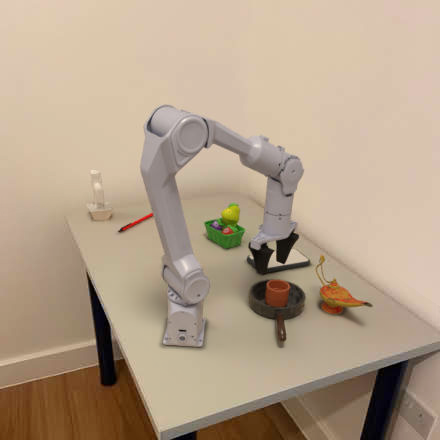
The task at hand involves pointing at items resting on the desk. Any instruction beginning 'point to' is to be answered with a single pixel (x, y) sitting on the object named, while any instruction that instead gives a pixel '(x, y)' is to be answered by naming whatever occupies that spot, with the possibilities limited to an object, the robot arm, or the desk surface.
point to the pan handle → (280, 326)
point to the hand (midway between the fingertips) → (271, 268)
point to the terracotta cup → (277, 293)
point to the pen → (135, 222)
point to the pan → (261, 307)
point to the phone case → (292, 261)
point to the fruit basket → (226, 228)
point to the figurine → (98, 199)
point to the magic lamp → (336, 295)
